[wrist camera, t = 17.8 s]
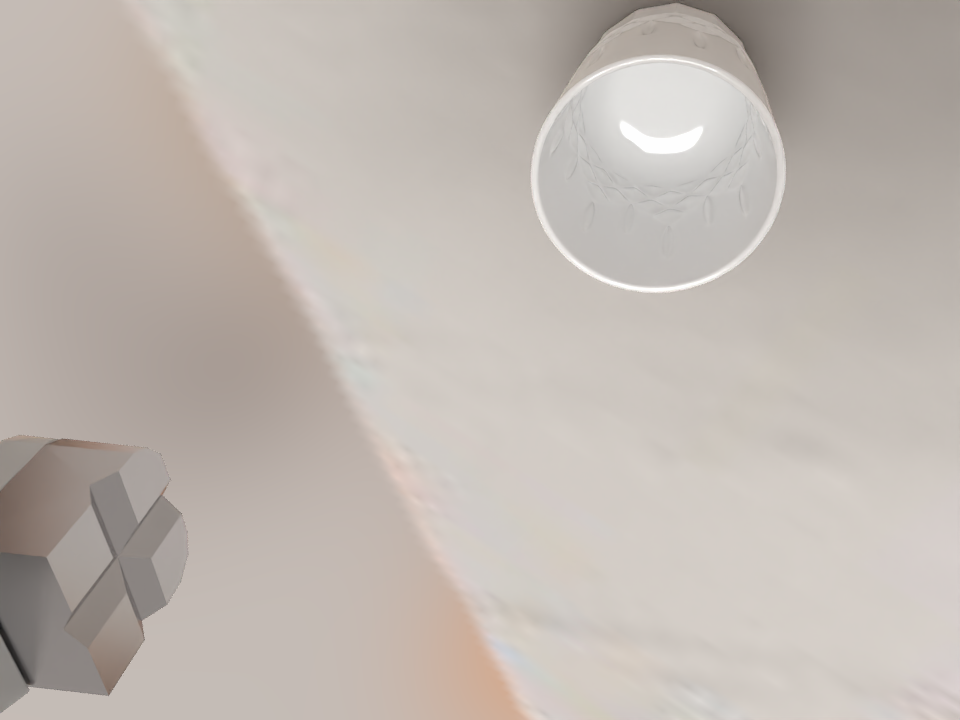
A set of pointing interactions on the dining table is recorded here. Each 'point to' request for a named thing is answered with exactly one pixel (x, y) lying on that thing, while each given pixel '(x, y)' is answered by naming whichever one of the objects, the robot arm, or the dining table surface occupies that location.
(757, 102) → the white cup
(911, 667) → the dining table surface
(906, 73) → the dining table surface
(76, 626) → the robot arm
